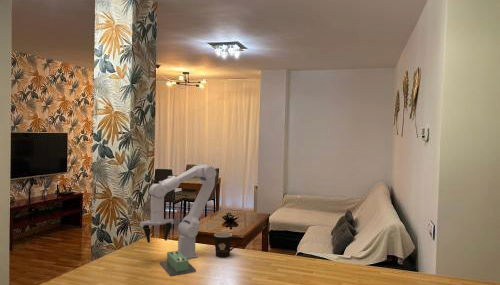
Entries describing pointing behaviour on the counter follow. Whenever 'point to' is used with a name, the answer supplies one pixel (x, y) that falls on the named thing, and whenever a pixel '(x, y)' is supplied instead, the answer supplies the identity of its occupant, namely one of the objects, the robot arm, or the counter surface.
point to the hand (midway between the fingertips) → (157, 241)
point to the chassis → (172, 271)
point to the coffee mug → (223, 244)
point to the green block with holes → (177, 261)
